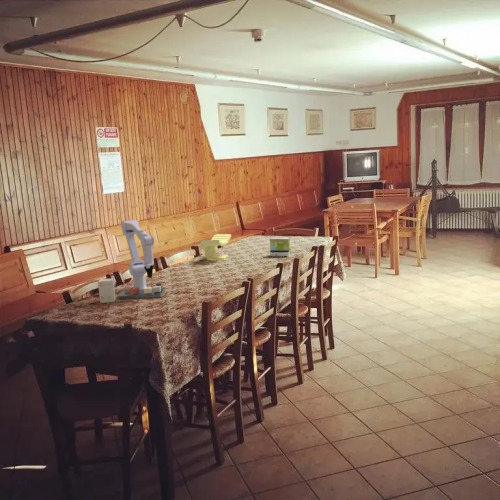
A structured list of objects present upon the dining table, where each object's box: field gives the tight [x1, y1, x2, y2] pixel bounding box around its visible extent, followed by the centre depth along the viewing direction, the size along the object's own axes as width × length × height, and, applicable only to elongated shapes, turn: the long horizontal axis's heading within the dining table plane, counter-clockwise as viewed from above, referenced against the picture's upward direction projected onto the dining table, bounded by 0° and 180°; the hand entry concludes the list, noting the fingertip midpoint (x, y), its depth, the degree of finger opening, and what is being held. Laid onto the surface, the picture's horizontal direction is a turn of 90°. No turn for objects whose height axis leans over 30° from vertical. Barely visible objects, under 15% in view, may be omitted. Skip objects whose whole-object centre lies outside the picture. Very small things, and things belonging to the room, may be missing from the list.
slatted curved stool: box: [199, 233, 232, 261], centre depth 429 cm, size 30×16×18 cm, turn 164°
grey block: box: [152, 285, 162, 292], centre depth 321 cm, size 3×4×3 cm
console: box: [116, 285, 166, 300], centre depth 322 cm, size 14×26×4 cm, turn 89°
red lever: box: [123, 287, 139, 295], centre depth 319 cm, size 9×2×3 cm, turn 127°
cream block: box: [144, 286, 153, 294], centre depth 319 cm, size 3×4×3 cm
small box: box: [97, 278, 117, 304], centre depth 312 cm, size 8×6×13 cm
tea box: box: [269, 236, 291, 257], centre depth 431 cm, size 15×10×15 cm, turn 81°
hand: (150, 277), depth 325 cm, fingers closed
